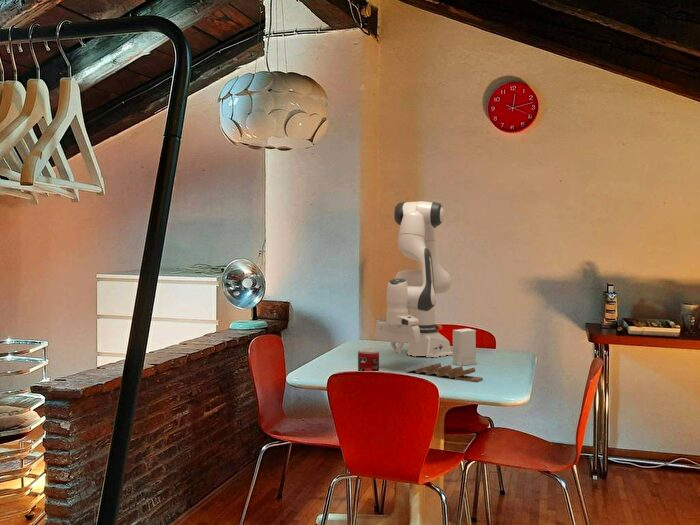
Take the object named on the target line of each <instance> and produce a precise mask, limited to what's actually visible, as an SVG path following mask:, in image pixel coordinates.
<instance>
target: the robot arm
mask: <svg viewBox="0 0 700 525" xmlns="http://www.w3.org/2000/svg"><path fill="white" fill-rule="evenodd" d="M444 217H445V210H444V207H443V205H442V204H441V203H440V202H436V201H433V202H431V201H423V200H420V201H419V200H418V201H407V202H406V201H402V202H398V203H397V204H396V205H395V207H394V210H393V218H394V221H395V223H396V224H397V225H399V231H398V238H397V247H398V250H399V252H400V253H401V254H402V255H404V257H406V258H409V259H411V260H413V261H416V262H418V264H419V266H420V267H421V269H404V270H400V271H398V272H396V275H395V276H394V278H393V279H390V280H389V281H388V283H387V288H386V300H385V301H386V306H387V307H386V317H378V318H377V319H376V320H375V321H376V322H375V330H374V331H375V333H374V337H375V339H376V341H383V342H384V341H385V342H386V341H387V342H390V346H391V348H392V354H393V353H394V354H401V353H402V348H403V346H404V345H405V344H408V348H407V352H406V355H407V354H408V355H407V356H410V355H412V356H411V357H416V356H426V357H425V358H431V357H434V358H439V356H441V357H447V356H446V355H448V356H453V349H452V350H451V343H450V341H449V339H447V338H446V337H445V336H444V335H442V334H441V333H440V332H439V330H440V331H441V330H442V329H443V326H442V324H441V325H440V324H436V321H435V320H436V317H435V316H436V312H435V311H436V309H435V306H436V303H437V297H436V296H437V295H438V294H444V293H446V292H448V291H449V289H451V286H452V278H451V275H450V274H449V272H448V271H446V269H444V268H443V267H442V266H441V264H440V263H439V260H438V259H437V258H438V257H437V253H436V252H437V250H436V249H437V248H436V228H437V227H438V226H440V225H441V224H442V223H443V221H444ZM436 294H437V295H436ZM396 344H397V345H398V347H397V345H396Z"/></svg>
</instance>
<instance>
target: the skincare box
mask: <svg viewBox="0 0 700 525" xmlns="http://www.w3.org/2000/svg"><path fill="white" fill-rule="evenodd" d="M476 333H477V330H476V329H471V328H459V329H452V351H453V355H452V364H453V363H454V365H456V364H457V365H456V366H459V365H460V366H459V367H461V366H462V365H463V366H469V365H470V366H471V365H476V361H477V360H476V359H477V357H476V356H477V354H476V353H477V349H476V347H477V346H476V344H477V340H476V337H477V335H476ZM463 366H462V367H463Z"/></svg>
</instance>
